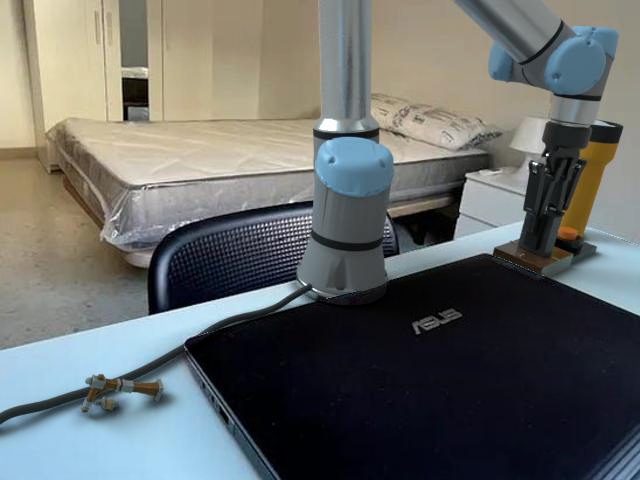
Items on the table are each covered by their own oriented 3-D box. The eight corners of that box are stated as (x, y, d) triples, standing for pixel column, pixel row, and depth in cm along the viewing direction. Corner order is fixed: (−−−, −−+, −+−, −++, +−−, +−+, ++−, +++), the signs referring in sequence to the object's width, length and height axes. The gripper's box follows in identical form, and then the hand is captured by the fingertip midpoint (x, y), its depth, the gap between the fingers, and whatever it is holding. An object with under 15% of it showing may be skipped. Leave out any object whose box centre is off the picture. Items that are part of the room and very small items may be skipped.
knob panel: (538, 282, 90) (543, 267, 89) (490, 261, 98) (493, 246, 96) (570, 267, 98) (574, 253, 96) (522, 248, 105) (526, 235, 104)
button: (570, 242, 102) (573, 234, 101) (553, 236, 104) (556, 228, 104) (578, 239, 104) (581, 231, 103) (562, 233, 107) (564, 225, 106)
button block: (570, 265, 99) (575, 249, 98) (529, 248, 105) (533, 233, 104) (595, 253, 106) (600, 238, 104) (554, 238, 112) (558, 224, 111)
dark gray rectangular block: (551, 255, 95) (563, 215, 91) (542, 257, 94) (554, 216, 90) (525, 243, 99) (536, 204, 96) (517, 245, 98) (527, 205, 95)
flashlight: (566, 114, 111) (613, 119, 109) (536, 223, 121) (579, 228, 120) (580, 121, 101) (632, 127, 100) (547, 238, 112) (594, 244, 110)
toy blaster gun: (71, 404, 52) (87, 368, 51) (146, 409, 57) (161, 376, 56) (73, 416, 51) (89, 378, 50) (149, 420, 55) (165, 386, 55)
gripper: (578, 118, 93) (546, 234, 103) (521, 119, 86) (492, 243, 95) (616, 126, 87) (578, 248, 97) (559, 128, 80) (523, 259, 89)
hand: (535, 246), depth 96 cm, fingers closed on dark gray rectangular block, 2 cm apart
